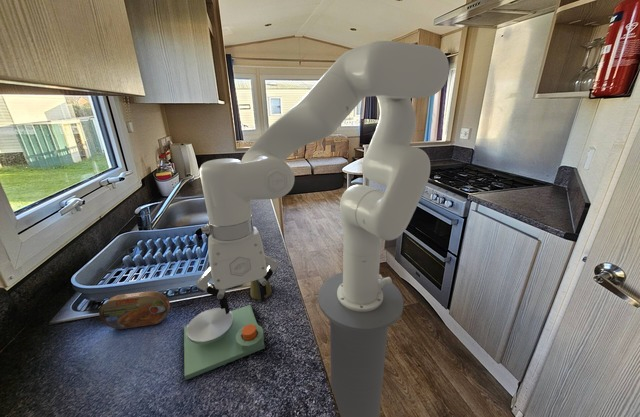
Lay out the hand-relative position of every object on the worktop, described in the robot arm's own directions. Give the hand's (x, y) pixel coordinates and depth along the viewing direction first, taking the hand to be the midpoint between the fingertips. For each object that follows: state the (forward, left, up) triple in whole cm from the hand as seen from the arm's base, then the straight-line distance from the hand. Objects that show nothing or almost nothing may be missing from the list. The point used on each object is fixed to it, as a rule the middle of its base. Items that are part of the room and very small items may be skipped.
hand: (244, 303), depth 55 cm
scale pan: (+7, -7, -9) cm, 13 cm away
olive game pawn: (-7, -17, -12) cm, 21 cm away
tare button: (0, 0, -9) cm, 9 cm away
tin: (+23, -20, -12) cm, 33 cm away
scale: (+5, -5, -12) cm, 14 cm away
